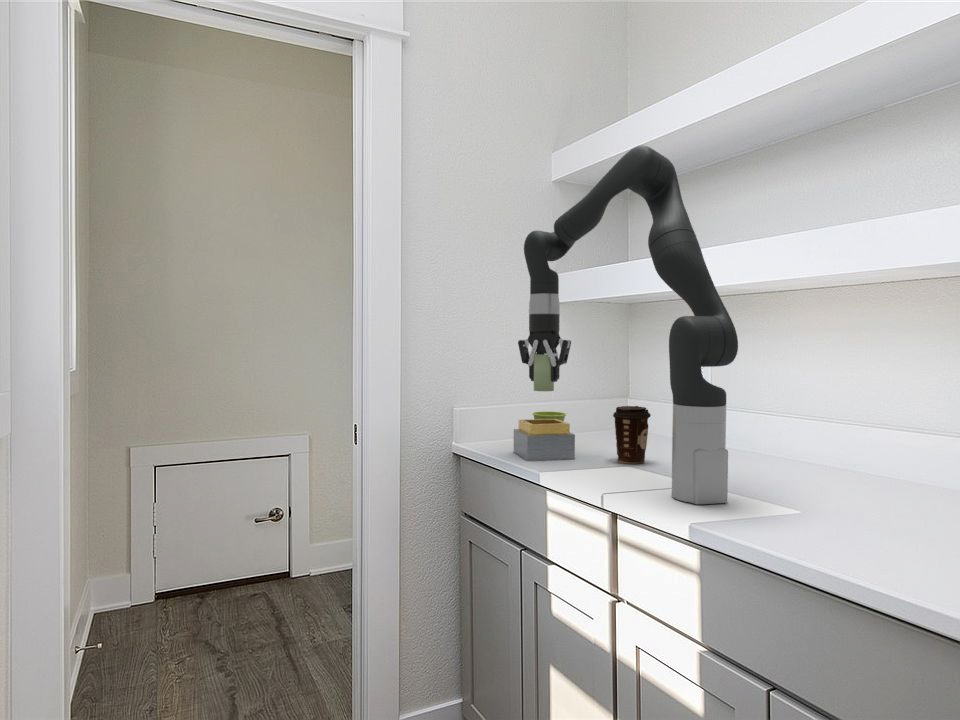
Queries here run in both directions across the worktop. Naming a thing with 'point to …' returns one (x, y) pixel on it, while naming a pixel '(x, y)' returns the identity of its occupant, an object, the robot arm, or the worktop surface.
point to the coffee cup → (631, 433)
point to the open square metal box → (544, 440)
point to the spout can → (542, 373)
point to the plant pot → (549, 415)
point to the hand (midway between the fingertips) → (544, 381)
